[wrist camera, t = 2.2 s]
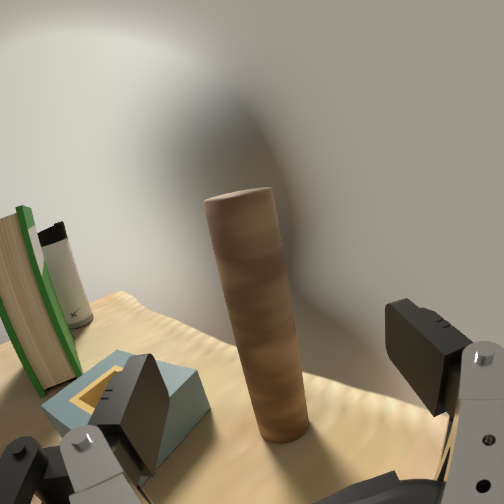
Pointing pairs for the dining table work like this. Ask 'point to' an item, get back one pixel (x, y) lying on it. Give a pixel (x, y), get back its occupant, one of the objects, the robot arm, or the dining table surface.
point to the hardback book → (33, 306)
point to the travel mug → (65, 275)
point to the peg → (260, 308)
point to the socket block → (93, 385)
